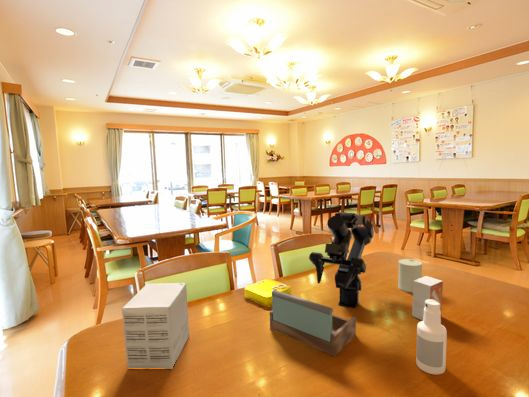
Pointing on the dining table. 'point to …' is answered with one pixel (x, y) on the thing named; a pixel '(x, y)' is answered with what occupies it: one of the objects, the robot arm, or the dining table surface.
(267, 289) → the element tile
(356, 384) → the dining table surface
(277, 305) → the panel
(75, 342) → the dining table surface
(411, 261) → the can
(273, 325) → the open wooden crate
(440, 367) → the spray bottle
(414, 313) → the small box
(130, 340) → the supplement box
